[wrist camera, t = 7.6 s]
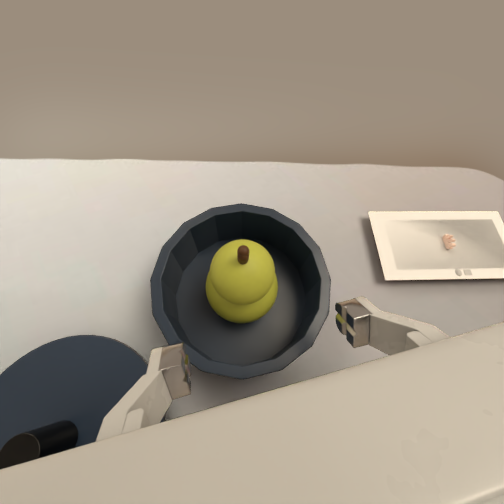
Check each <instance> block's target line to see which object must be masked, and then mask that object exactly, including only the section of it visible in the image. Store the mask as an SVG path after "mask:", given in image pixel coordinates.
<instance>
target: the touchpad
mask: <svg viewBox="0 0 504 504" xmlns="http://www.w3.org/2000/svg"><path fill="white" fill-rule="evenodd" d="M368 214H369V218H370V222H371V226H372V230H373V234H374V238H375V242H376V246H377V250H378V253H379V257H380V261H381V265H382V269H383V273H384V277H385V280H433V279H490V278H504V223H503V221H502V219H501V217H500V215H499V213H498V211H397V212H368Z"/></svg>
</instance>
